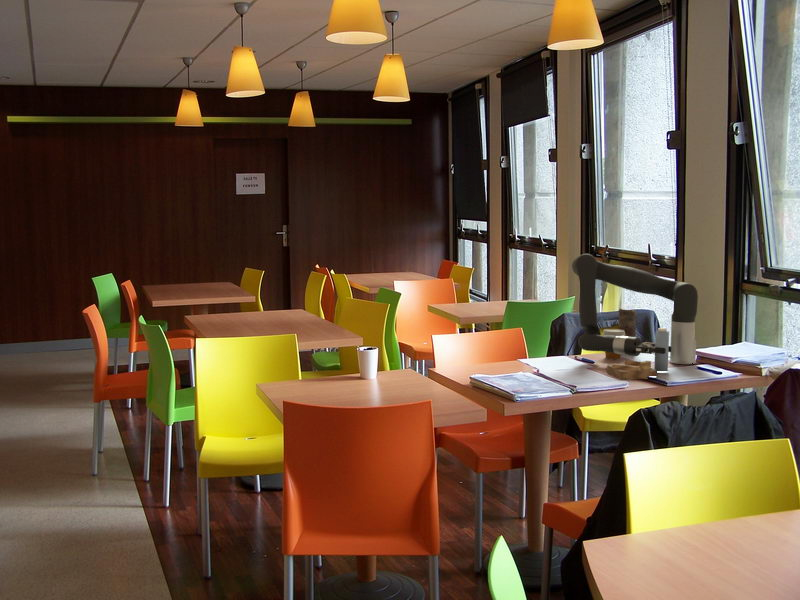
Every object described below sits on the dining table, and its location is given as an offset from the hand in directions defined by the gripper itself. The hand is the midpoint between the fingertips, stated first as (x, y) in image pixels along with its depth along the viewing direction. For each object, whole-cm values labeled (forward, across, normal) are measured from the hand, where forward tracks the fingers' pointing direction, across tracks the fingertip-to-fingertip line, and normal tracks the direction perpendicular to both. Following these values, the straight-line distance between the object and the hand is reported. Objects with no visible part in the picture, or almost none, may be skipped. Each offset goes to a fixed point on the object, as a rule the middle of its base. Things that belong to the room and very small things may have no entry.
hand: (668, 350), depth 320 cm
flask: (-3, 0, +9) cm, 9 cm away
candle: (-33, +32, +9) cm, 47 cm away
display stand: (-8, -14, +9) cm, 18 cm away
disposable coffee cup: (-32, +18, +9) cm, 38 cm away
